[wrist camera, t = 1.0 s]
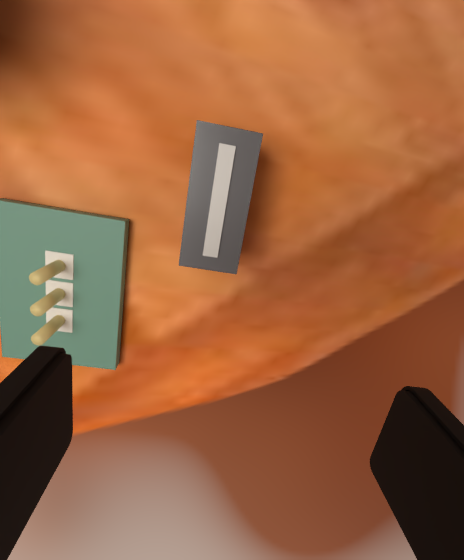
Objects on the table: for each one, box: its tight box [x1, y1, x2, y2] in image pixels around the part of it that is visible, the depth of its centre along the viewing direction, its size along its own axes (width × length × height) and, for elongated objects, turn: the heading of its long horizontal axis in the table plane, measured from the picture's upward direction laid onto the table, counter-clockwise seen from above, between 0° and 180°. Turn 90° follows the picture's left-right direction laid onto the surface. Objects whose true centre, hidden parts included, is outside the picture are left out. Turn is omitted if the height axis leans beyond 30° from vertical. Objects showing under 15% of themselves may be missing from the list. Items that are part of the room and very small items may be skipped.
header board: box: [0, 198, 129, 370], centre depth 25 cm, size 14×10×5 cm
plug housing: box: [179, 120, 263, 274], centre depth 22 cm, size 9×4×6 cm, turn 170°
